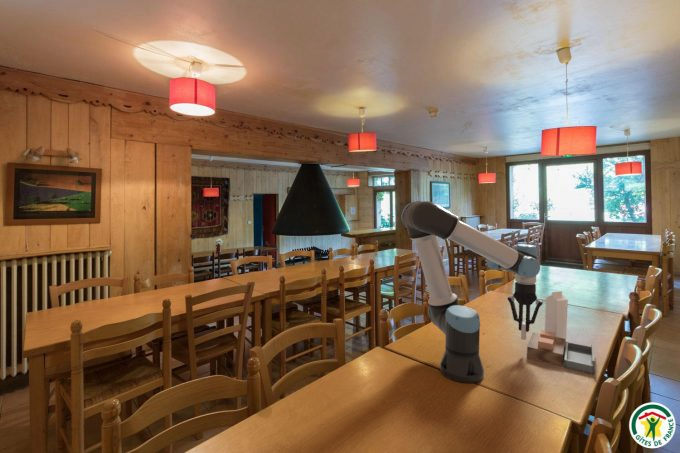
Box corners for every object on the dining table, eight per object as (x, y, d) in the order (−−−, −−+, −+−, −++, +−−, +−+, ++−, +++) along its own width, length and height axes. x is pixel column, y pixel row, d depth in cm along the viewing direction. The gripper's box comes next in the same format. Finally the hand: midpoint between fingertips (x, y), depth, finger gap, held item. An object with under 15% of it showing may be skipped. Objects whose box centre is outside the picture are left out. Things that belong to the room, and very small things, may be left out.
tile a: (537, 347, 134) (538, 341, 134) (539, 342, 138) (539, 336, 138) (552, 350, 131) (552, 344, 131) (553, 345, 135) (553, 339, 135)
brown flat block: (526, 357, 135) (527, 346, 135) (532, 342, 150) (532, 332, 149) (562, 365, 128) (563, 354, 128) (564, 349, 143) (565, 338, 142)
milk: (566, 341, 151) (568, 292, 149) (555, 342, 149) (558, 293, 148) (554, 335, 157) (556, 289, 155) (543, 337, 155) (546, 290, 153)
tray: (564, 367, 127) (564, 354, 126) (566, 348, 143) (566, 337, 143) (593, 374, 122) (594, 361, 121) (592, 353, 138) (593, 342, 137)
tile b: (540, 339, 141) (540, 333, 141) (541, 335, 146) (541, 330, 145) (554, 342, 139) (554, 336, 138) (555, 338, 143) (555, 332, 142)
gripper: (506, 282, 138) (504, 337, 140) (543, 286, 131) (540, 345, 132) (509, 278, 144) (507, 332, 146) (544, 282, 137) (542, 339, 139)
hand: (523, 338), depth 139 cm, fingers closed
